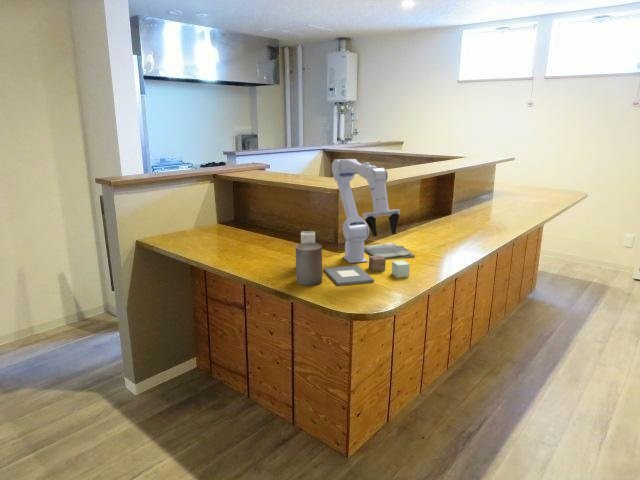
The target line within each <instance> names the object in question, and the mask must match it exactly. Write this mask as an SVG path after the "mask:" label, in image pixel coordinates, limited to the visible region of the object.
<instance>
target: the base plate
mask: <svg viewBox="0 0 640 480" xmlns="http://www.w3.org/2000/svg"><path fill="white" fill-rule="evenodd" d="M323 271H324V272H325V274H327V276H329V278H330V279H331V280H332V281H333V282H334V283H335V285H336V286H346V285H347V286H349V285H357V284H369V283H374V282H375V279H374V278H373V277H372V276H370V275H369V274H368V273H367V272H366V271H364V270H363V269H362V268H361V267H360V266H359V265H345V266H333V267H324V268H323Z"/></svg>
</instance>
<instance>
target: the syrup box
mask: <svg viewBox="0 0 640 480" xmlns="http://www.w3.org/2000/svg"><path fill="white" fill-rule="evenodd" d="M302 243H316V232H315V231H313V230H311V231H309V230H308V231H307V230H306V231H300V244H302Z"/></svg>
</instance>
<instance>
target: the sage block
mask: <svg viewBox="0 0 640 480" xmlns="http://www.w3.org/2000/svg"><path fill="white" fill-rule="evenodd" d="M410 266H411V264H410V263H408V262H407V261H405V260H397V261H396V260H394V261H393V260H392V262H391V274H392V275H393V276H394V277H396V278H397V279H398V278H406V277H407V278H408V277H410V271H411V270H410V269H411V267H410Z"/></svg>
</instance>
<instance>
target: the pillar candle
mask: <svg viewBox="0 0 640 480" xmlns="http://www.w3.org/2000/svg"><path fill="white" fill-rule="evenodd" d="M295 274H296V275H295V279H296V284H298V285H302V286H304V287H305V286H306V287H311V286H317V285H320V284H321V283H322V282H323V248H322V244H319V243H317V242H315V243H302V244H301V243H299V244H298V243H297V244H296V245H295Z"/></svg>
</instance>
